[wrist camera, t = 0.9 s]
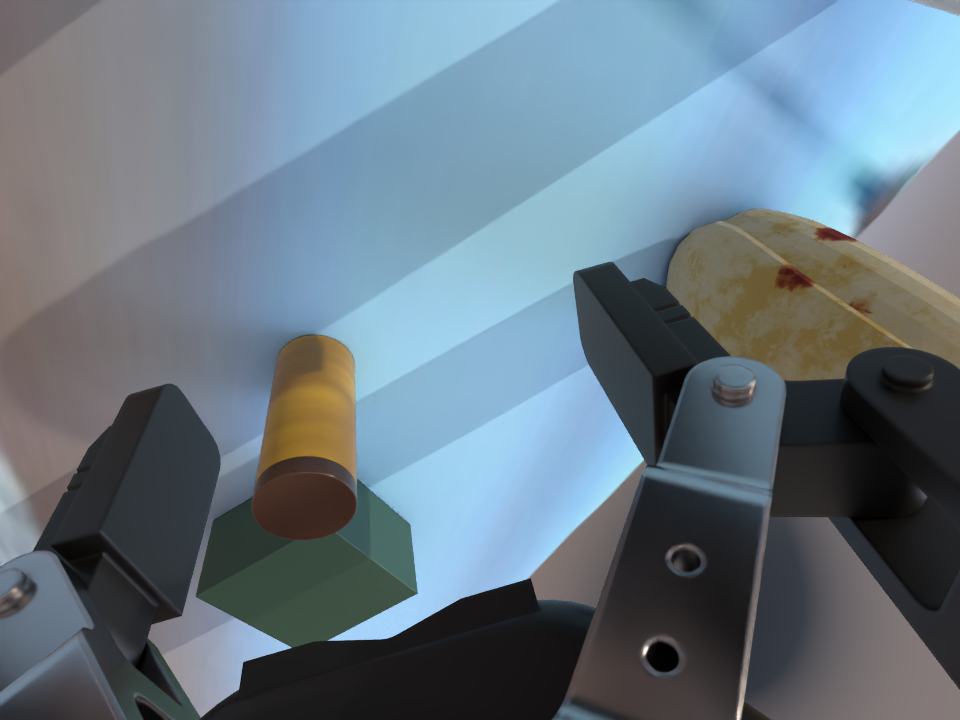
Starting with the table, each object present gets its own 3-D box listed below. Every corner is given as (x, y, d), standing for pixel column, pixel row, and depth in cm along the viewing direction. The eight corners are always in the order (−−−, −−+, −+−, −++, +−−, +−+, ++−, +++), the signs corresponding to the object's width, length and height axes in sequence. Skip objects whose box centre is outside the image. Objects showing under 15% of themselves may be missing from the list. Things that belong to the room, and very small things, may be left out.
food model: (690, 336, 39) (928, 606, 23) (623, 291, 36) (845, 568, 20) (805, 218, 35) (1185, 444, 19) (742, 158, 32) (1133, 366, 16)
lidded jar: (259, 361, 34) (227, 505, 25) (321, 321, 33) (312, 455, 24) (310, 408, 37) (299, 553, 28) (370, 371, 36) (377, 509, 27)
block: (213, 520, 41) (194, 597, 36) (327, 452, 39) (324, 523, 34) (307, 580, 46) (303, 653, 42) (410, 524, 45) (418, 593, 40)
